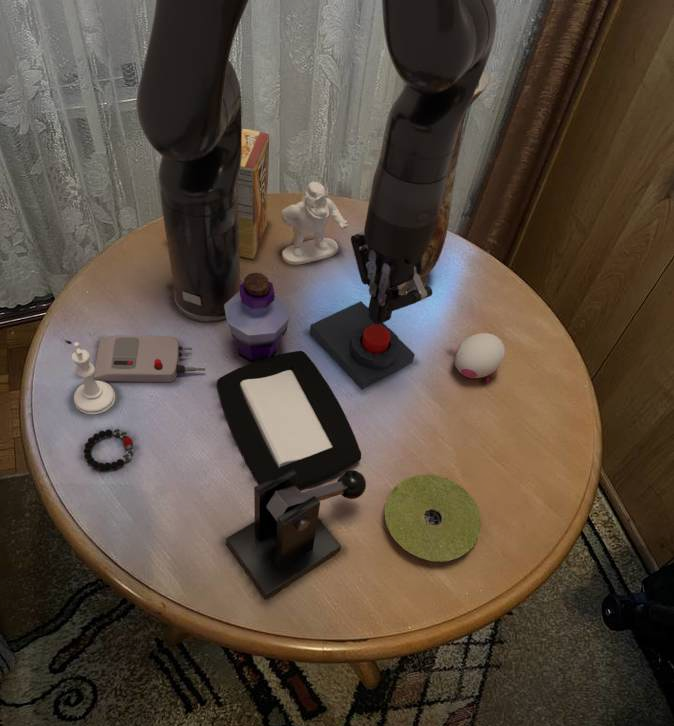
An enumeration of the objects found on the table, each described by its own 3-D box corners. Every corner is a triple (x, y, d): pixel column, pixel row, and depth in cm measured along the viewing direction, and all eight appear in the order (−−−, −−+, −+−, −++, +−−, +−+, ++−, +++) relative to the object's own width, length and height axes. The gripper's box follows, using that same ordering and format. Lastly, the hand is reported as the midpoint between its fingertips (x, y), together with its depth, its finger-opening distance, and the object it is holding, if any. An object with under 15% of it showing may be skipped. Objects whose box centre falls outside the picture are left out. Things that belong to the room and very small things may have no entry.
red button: (356, 340, 87) (358, 331, 86) (377, 330, 89) (379, 321, 87) (373, 357, 86) (375, 348, 84) (393, 347, 87) (396, 338, 86)
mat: (362, 512, 76) (364, 504, 75) (432, 467, 81) (435, 458, 79) (426, 586, 72) (429, 580, 70) (496, 534, 77) (501, 526, 75)
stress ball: (473, 364, 96) (464, 322, 92) (519, 370, 90) (511, 326, 86) (440, 388, 92) (429, 345, 89) (485, 396, 86) (476, 351, 83)
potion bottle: (300, 356, 89) (306, 290, 79) (246, 381, 85) (244, 315, 76) (267, 316, 92) (268, 248, 82) (213, 339, 89) (207, 270, 79)
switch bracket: (299, 499, 77) (305, 443, 67) (340, 550, 73) (352, 499, 64) (226, 543, 73) (220, 490, 63) (266, 599, 69) (267, 553, 60)
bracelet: (140, 462, 77) (139, 457, 76) (91, 478, 75) (89, 474, 74) (126, 426, 80) (124, 421, 79) (79, 441, 78) (77, 436, 77)
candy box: (242, 219, 104) (240, 126, 91) (268, 224, 103) (270, 132, 91) (228, 255, 99) (224, 162, 86) (255, 260, 99) (255, 168, 86)
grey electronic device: (87, 343, 86) (82, 327, 84) (207, 344, 88) (205, 329, 86) (79, 381, 83) (74, 366, 80) (205, 382, 85) (203, 367, 82)
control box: (309, 333, 91) (311, 315, 88) (359, 309, 95) (362, 291, 92) (361, 389, 87) (365, 372, 84) (412, 362, 90) (417, 345, 87)
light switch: (206, 371, 83) (306, 337, 86) (209, 385, 86) (306, 351, 89) (262, 497, 74) (372, 454, 77) (264, 508, 76) (370, 466, 80)
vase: (352, 276, 99) (384, 72, 74) (390, 242, 104) (431, 41, 79) (410, 308, 96) (464, 108, 71) (445, 271, 101) (506, 73, 77)
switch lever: (345, 481, 75) (358, 462, 73) (362, 501, 73) (376, 482, 72) (260, 505, 65) (273, 484, 63) (279, 529, 64) (292, 508, 62)
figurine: (293, 275, 98) (297, 206, 88) (275, 248, 101) (277, 178, 91) (347, 261, 101) (356, 192, 91) (328, 234, 104) (335, 166, 94)
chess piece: (80, 419, 80) (59, 365, 71) (69, 390, 82) (48, 335, 74) (120, 407, 81) (104, 353, 73) (108, 378, 83) (92, 323, 75)
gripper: (472, 227, 68) (433, 341, 82) (393, 159, 73) (369, 277, 87) (418, 250, 65) (387, 364, 79) (339, 177, 70) (324, 297, 84)
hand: (377, 318), depth 83 cm, fingers closed
